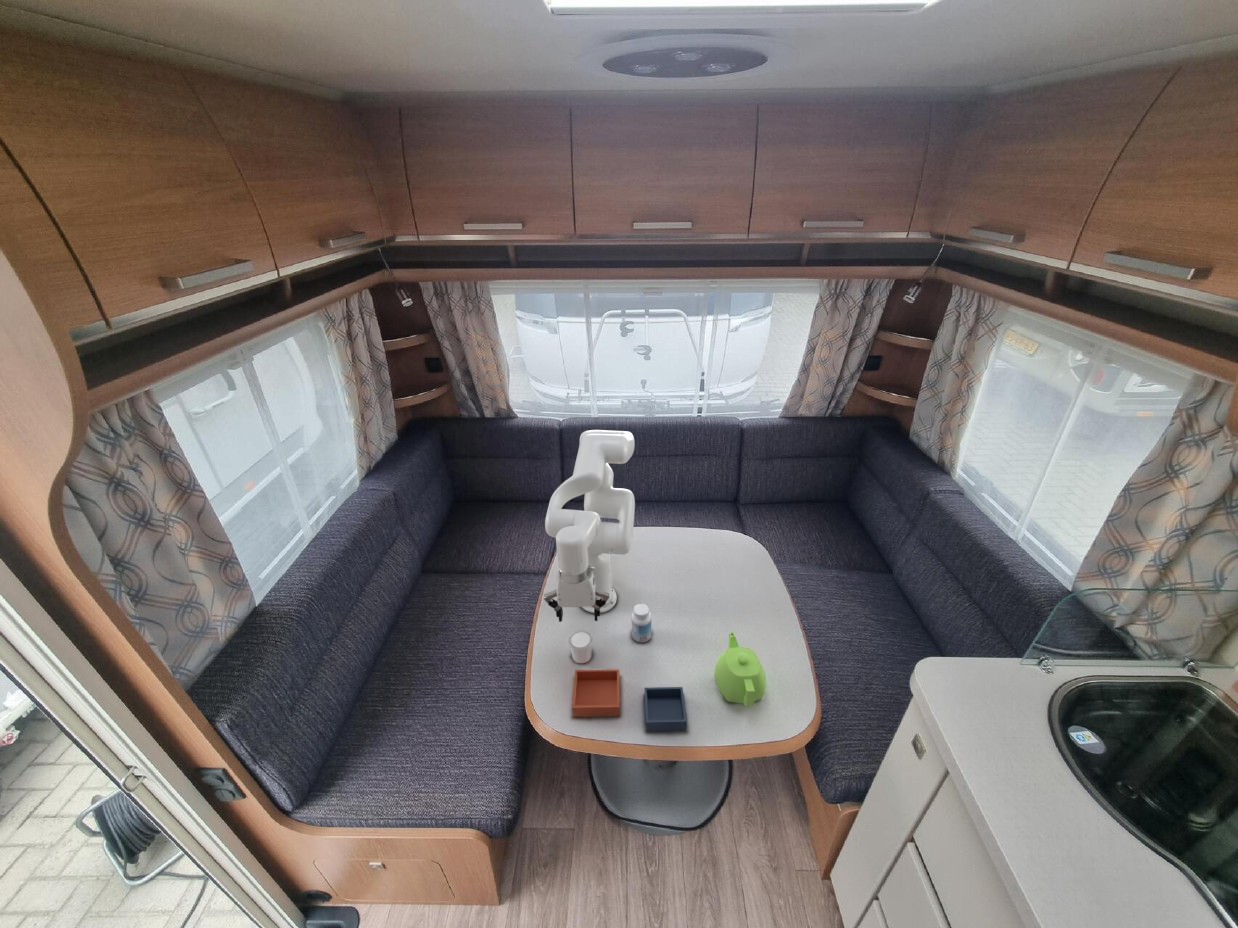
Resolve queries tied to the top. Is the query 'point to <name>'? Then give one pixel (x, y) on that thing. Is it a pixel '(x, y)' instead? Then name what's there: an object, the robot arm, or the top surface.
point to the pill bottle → (641, 623)
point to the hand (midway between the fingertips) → (578, 617)
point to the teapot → (740, 674)
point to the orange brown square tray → (596, 693)
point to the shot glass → (581, 646)
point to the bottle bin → (665, 709)
